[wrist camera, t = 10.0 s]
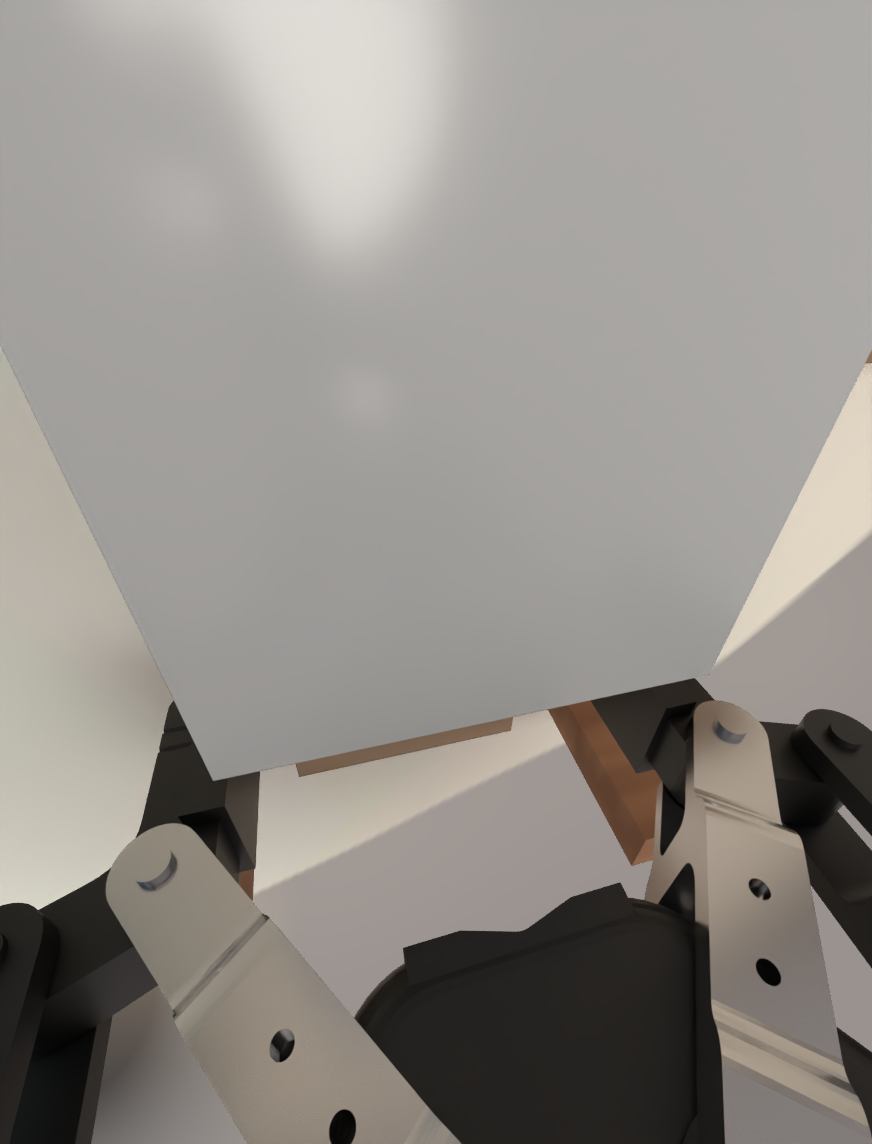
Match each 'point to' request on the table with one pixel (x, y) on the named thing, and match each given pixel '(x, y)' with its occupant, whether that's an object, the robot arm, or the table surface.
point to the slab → (432, 335)
